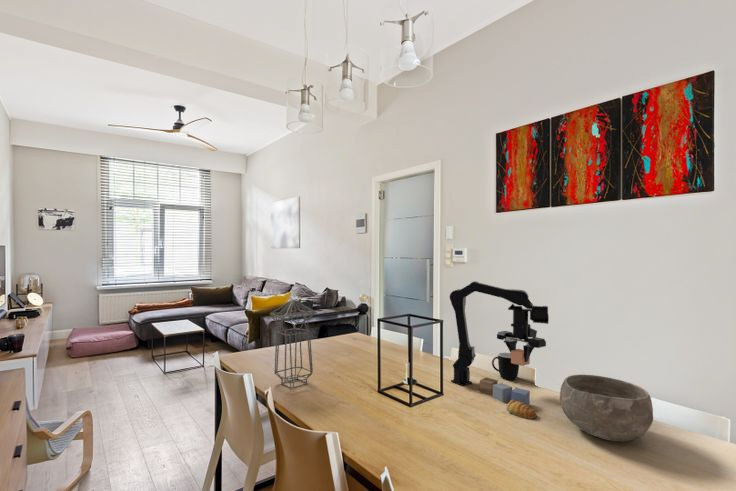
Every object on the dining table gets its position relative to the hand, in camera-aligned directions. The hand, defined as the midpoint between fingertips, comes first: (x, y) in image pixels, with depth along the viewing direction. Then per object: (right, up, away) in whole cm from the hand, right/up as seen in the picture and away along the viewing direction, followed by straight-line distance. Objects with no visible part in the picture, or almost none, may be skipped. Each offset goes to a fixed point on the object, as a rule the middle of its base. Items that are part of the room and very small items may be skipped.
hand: (520, 360), depth 153 cm
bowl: (+11, -12, -36) cm, 39 cm away
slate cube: (-10, -12, -8) cm, 18 cm away
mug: (0, -13, +17) cm, 22 cm away
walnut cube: (-13, -12, -2) cm, 18 cm away
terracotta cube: (0, -1, 0) cm, 1 cm away
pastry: (-8, -12, -21) cm, 26 cm away
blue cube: (-5, -12, -13) cm, 19 cm away
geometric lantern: (-93, -12, +6) cm, 94 cm away
